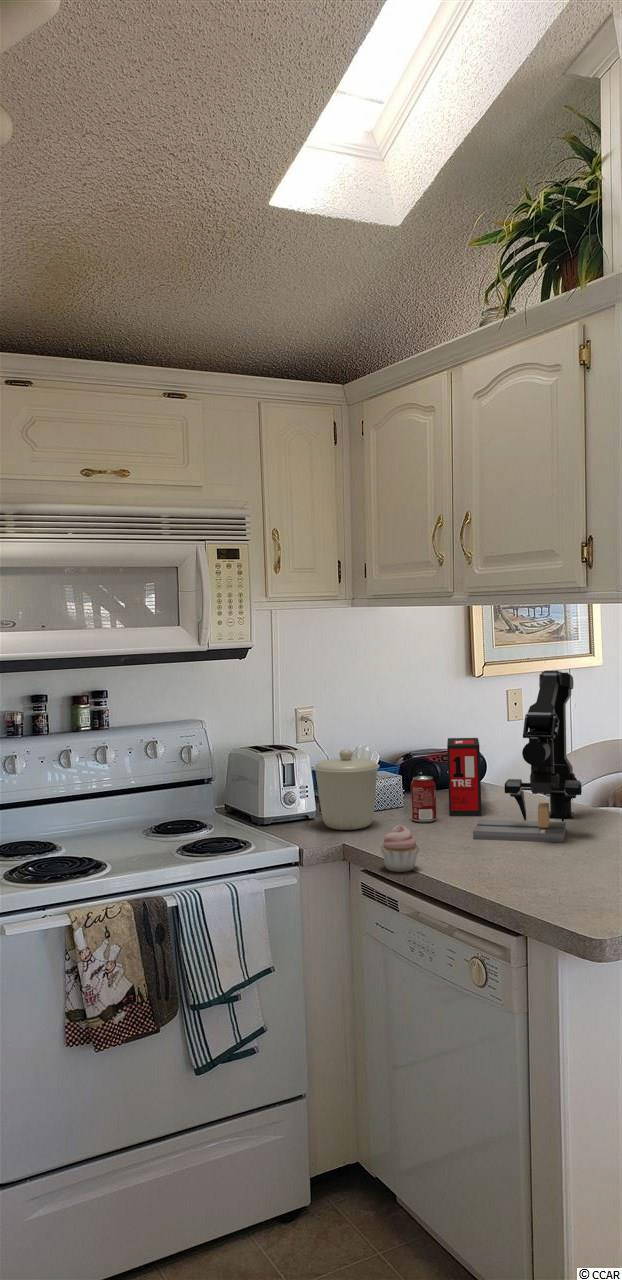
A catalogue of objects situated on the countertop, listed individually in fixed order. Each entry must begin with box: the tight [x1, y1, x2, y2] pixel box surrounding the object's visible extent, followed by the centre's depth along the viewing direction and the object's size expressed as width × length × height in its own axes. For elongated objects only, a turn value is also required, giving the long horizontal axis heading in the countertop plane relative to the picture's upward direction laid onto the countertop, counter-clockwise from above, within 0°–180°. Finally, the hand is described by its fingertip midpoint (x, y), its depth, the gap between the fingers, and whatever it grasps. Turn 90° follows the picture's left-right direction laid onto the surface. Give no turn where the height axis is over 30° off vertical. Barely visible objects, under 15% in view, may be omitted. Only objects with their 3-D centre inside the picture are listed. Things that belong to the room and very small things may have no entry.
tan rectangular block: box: [537, 802, 551, 828], centre depth 236 cm, size 6×2×6 cm, turn 162°
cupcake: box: [378, 823, 422, 873], centre depth 209 cm, size 9×9×10 cm
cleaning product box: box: [446, 737, 482, 817], centre depth 270 cm, size 16×9×20 cm, turn 171°
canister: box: [312, 748, 381, 831], centre depth 254 cm, size 18×18×21 cm
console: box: [472, 818, 567, 843], centre depth 238 cm, size 14×22×2 cm, turn 72°
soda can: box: [410, 775, 437, 824], centre depth 258 cm, size 7×7×12 cm
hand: (543, 820), depth 236 cm, fingers open, 9 cm apart
